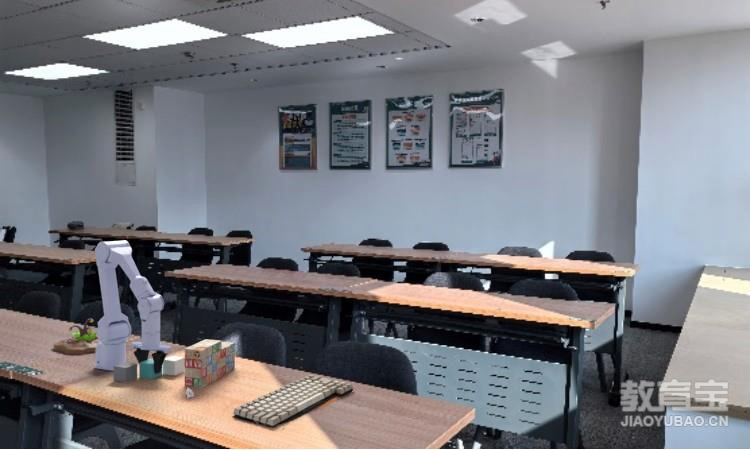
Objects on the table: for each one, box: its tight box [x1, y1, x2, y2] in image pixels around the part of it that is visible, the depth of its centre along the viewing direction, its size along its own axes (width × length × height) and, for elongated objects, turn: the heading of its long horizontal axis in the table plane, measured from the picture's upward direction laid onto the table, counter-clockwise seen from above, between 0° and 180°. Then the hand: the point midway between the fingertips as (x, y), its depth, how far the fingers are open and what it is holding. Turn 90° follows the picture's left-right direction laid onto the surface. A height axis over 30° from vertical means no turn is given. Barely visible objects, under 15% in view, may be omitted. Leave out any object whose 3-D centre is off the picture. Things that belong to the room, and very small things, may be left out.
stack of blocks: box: [184, 338, 236, 389], centre depth 190 cm, size 21×6×12 cm, turn 165°
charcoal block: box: [113, 361, 138, 384], centre depth 185 cm, size 5×5×5 cm
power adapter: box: [185, 387, 195, 399], centre depth 171 cm, size 3×3×3 cm
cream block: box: [162, 355, 185, 376], centre depth 193 cm, size 5×5×5 cm
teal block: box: [138, 358, 163, 380], centre depth 189 cm, size 5×5×5 cm
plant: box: [53, 318, 100, 356], centre depth 222 cm, size 20×20×11 cm
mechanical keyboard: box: [231, 373, 354, 431], centre depth 169 cm, size 38×19×3 cm, turn 151°
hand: (150, 371), depth 189 cm, fingers closed on teal block, 5 cm apart
